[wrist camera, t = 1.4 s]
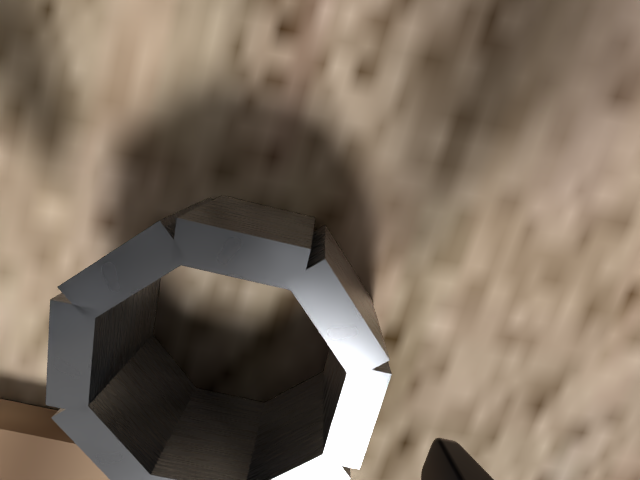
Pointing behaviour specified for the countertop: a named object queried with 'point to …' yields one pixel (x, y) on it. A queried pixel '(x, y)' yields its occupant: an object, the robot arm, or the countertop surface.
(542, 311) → the countertop surface
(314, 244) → the hollow octagonal tube
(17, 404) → the tan board with peg
